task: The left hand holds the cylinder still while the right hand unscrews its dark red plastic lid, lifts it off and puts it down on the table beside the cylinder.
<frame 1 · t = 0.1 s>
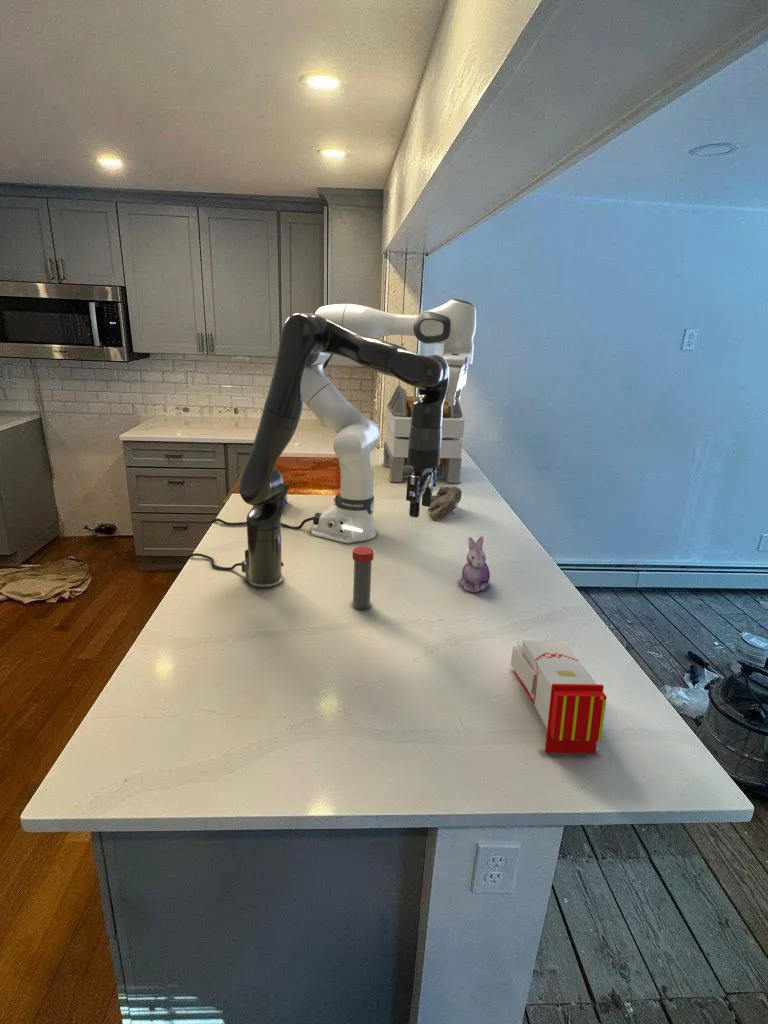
left hand: (420, 511, 136), 29 cm above the counter, tool pointing down, fingers open, 8 cm apart
right hand: (454, 403, 174), 48 cm above the counter, tool pointing down, fingers open, 8 cm apart
figurine: (474, 586, 164), on the counter
figurine character: (279, 508, 220), on the counter
toy: (547, 704, 116), on the counter
lid: (363, 551, 146), point 16 cm above the counter, screwed on, not yet turned
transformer: (419, 473, 275), on the counter
cylinder: (361, 605, 151), on the counter
fossil: (443, 512, 223), on the counter
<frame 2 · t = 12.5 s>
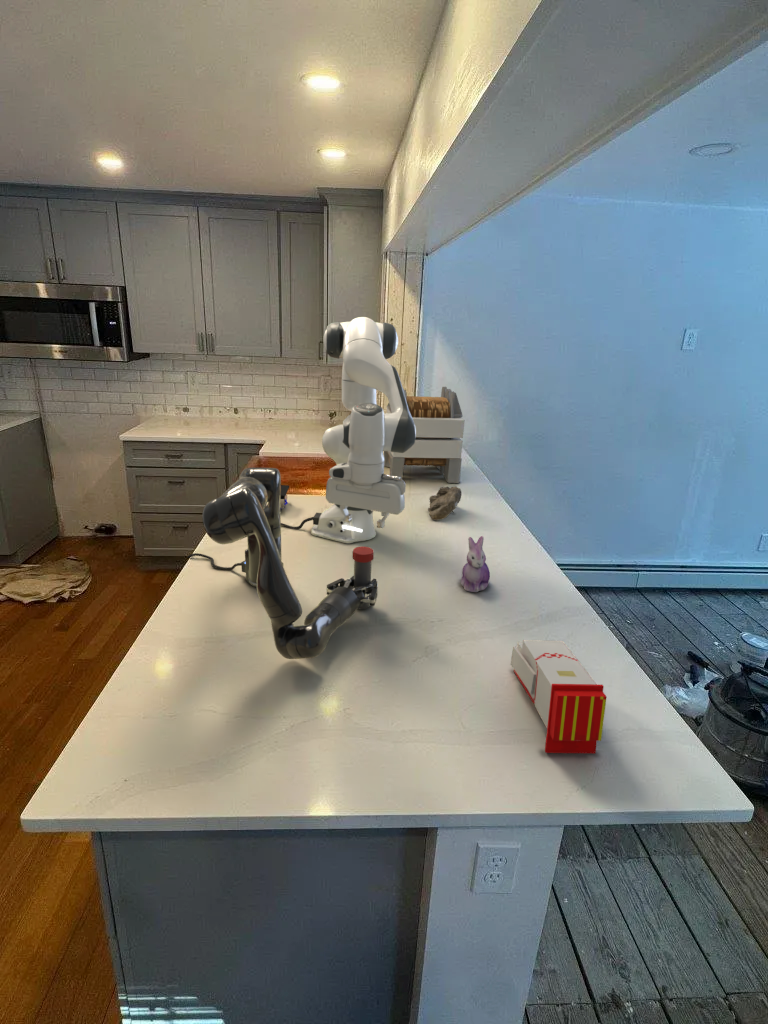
left hand: (366, 579, 151), 6 cm above the counter, tool horizontal, fingers closed on cylinder, 4 cm apart
right hand: (364, 524, 143), 23 cm above the counter, tool pointing down, fingers open, 8 cm apart
cylinder: (361, 605, 151), on the counter, touching left hand
everything else where it was.
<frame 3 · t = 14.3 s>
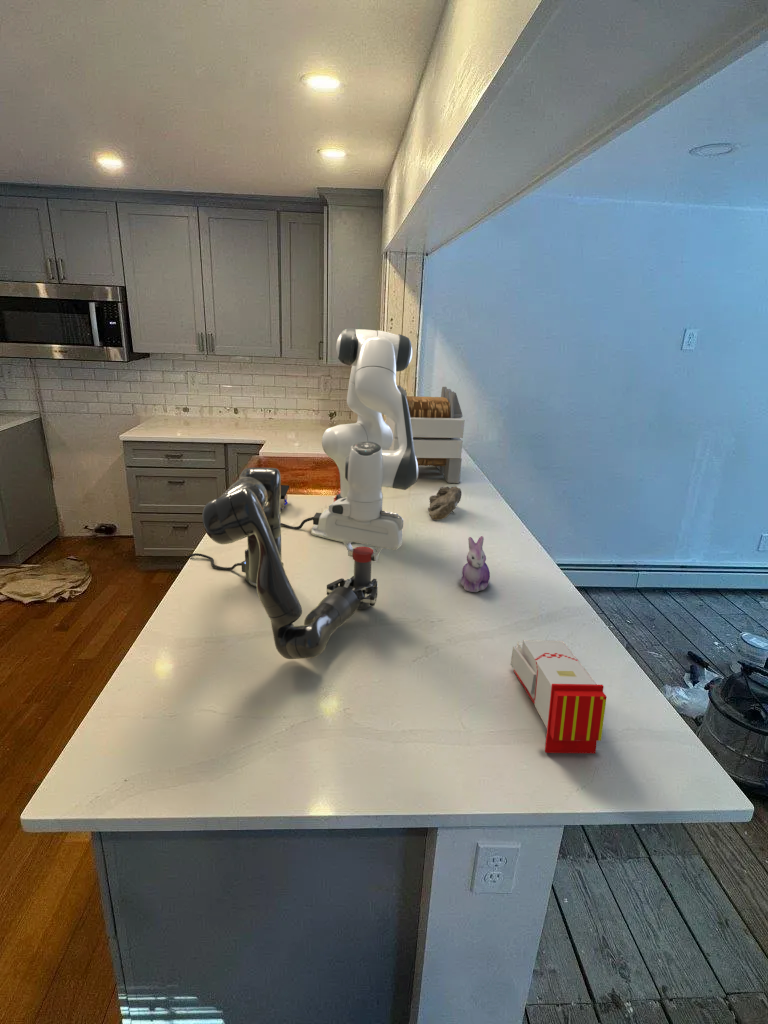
left hand: (366, 579, 151), 6 cm above the counter, tool horizontal, fingers closed on cylinder, 4 cm apart
right hand: (362, 558, 146), 14 cm above the counter, tool pointing down, fingers closed on lid, 5 cm apart
lid: (363, 551, 146), point 16 cm above the counter, screwed on, not yet turned, touching right hand
cylinder: (361, 605, 151), on the counter, touching left hand
everything else where it was.
when the right hand's fingers open (14 cm above the counter, at t = 15.6 s): lid stays where it is, point 16 cm above the counter.
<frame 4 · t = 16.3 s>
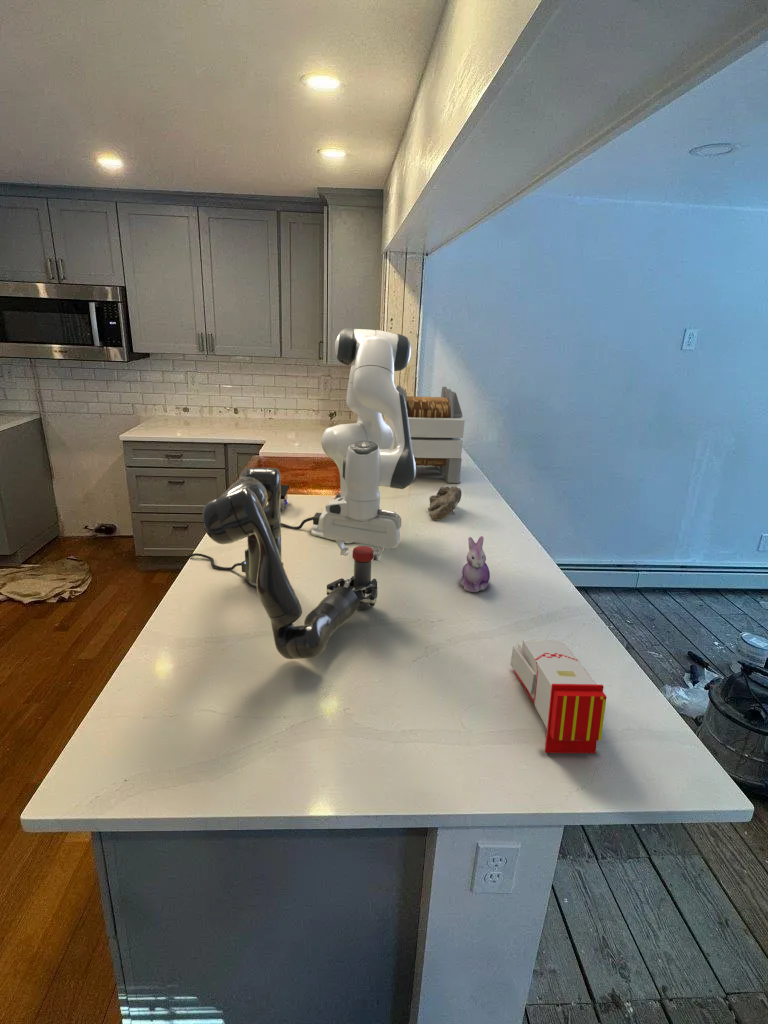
left hand: (366, 579, 151), 6 cm above the counter, tool horizontal, fingers closed on cylinder, 4 cm apart
right hand: (360, 557, 146), 14 cm above the counter, tool pointing down, fingers open, 8 cm apart
lid: (363, 551, 146), point 16 cm above the counter, turned 70° so far, risen 0.2 cm, still on its thread
cylinder: (361, 605, 151), on the counter, touching left hand
everything else where it was.
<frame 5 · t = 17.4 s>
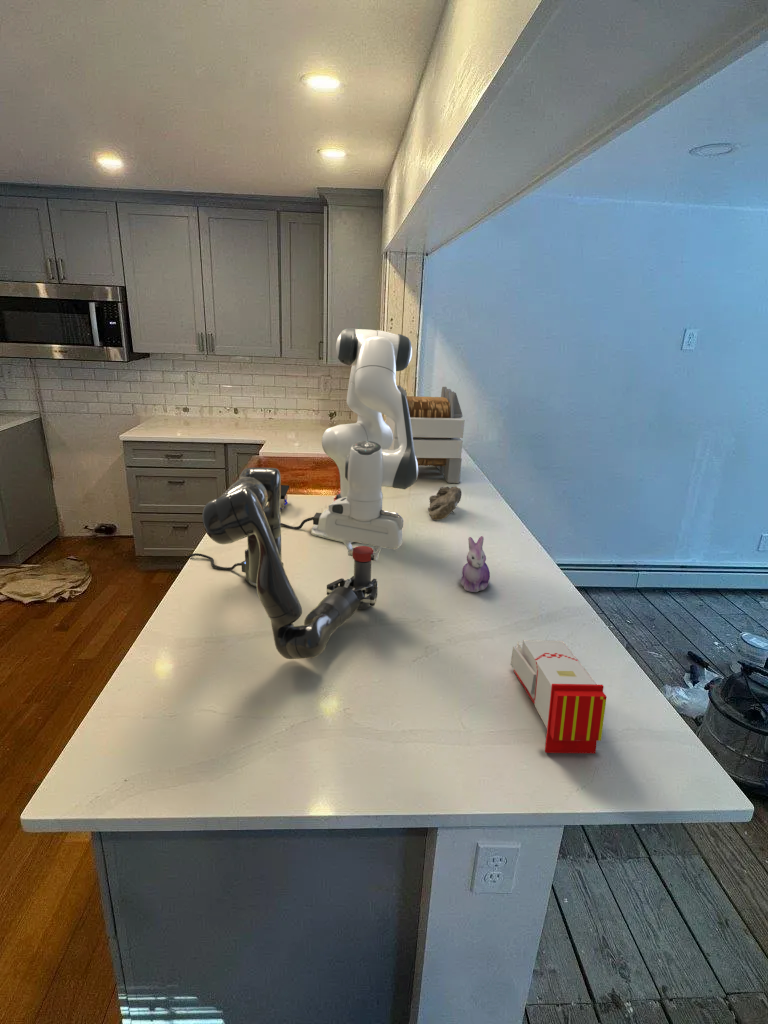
left hand: (366, 579, 151), 6 cm above the counter, tool horizontal, fingers closed on cylinder, 4 cm apart
right hand: (362, 557, 146), 14 cm above the counter, tool pointing down, fingers closed on lid, 5 cm apart
lid: (363, 551, 146), point 16 cm above the counter, turned 70° so far, risen 0.2 cm, still on its thread, touching right hand
cylinder: (361, 605, 151), on the counter, touching left hand
everything else where it was.
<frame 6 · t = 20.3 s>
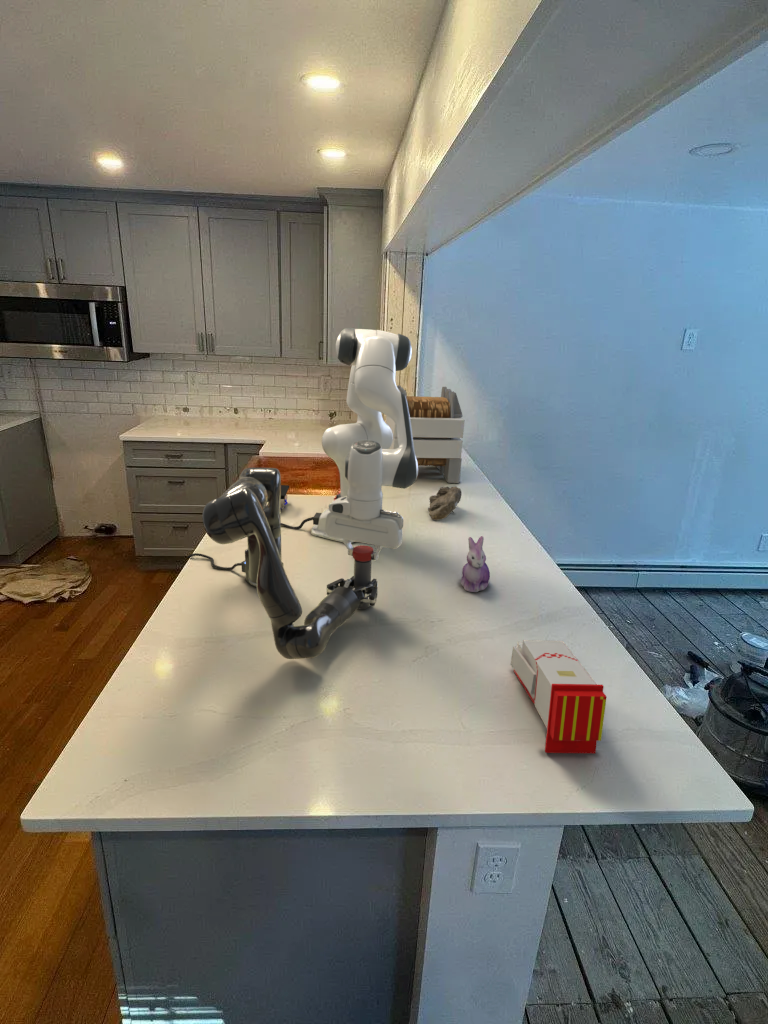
left hand: (366, 579, 151), 6 cm above the counter, tool horizontal, fingers closed on cylinder, 4 cm apart
right hand: (362, 557, 146), 14 cm above the counter, tool pointing down, fingers closed on lid, 5 cm apart
lid: (363, 550, 146), point 16 cm above the counter, turned 140° so far, risen 0.3 cm, still on its thread, touching right hand
cylinder: (361, 605, 151), on the counter, touching left hand
everything else where it was.
when the right hand's fingers open (2 cm above the counter, at t = 26.8 s): lid drops 2 cm, point 2 cm above the counter.
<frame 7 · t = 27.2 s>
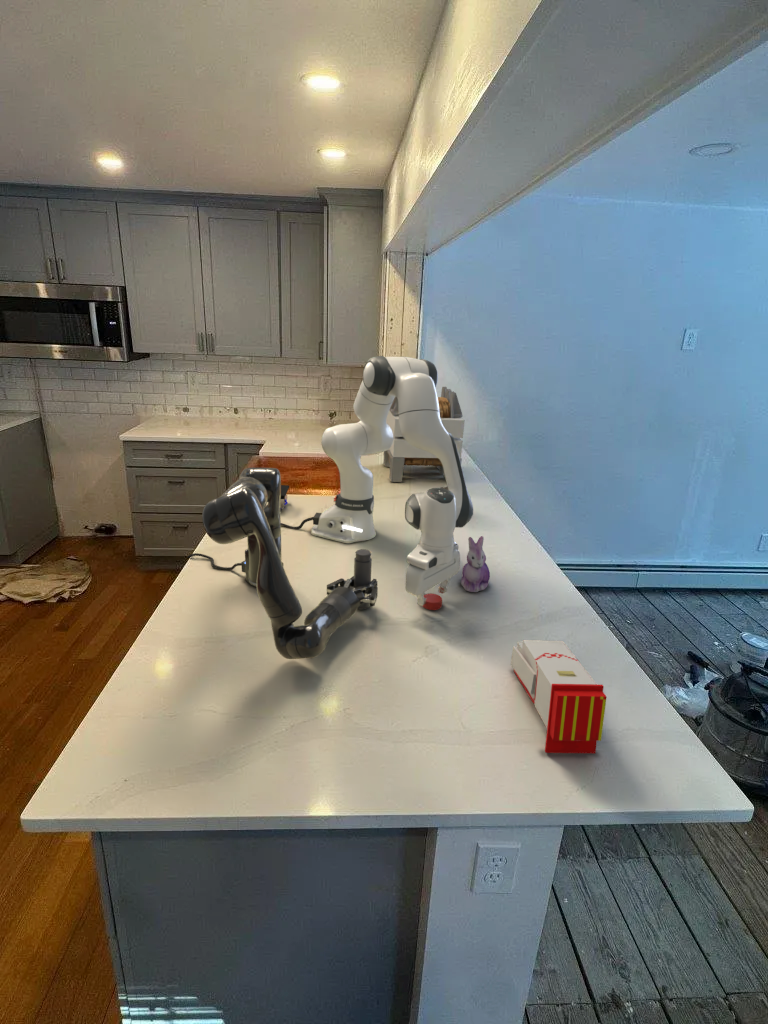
left hand: (366, 580, 151), 6 cm above the counter, tool horizontal, fingers closed on cylinder, 4 cm apart
right hand: (432, 598, 152), 2 cm above the counter, tool pointing down, fingers open, 8 cm apart
lid: (432, 599, 152), point 2 cm above the counter, off its thread
cylinder: (361, 605, 151), on the counter, touching left hand
everything else where it was.
when the left hand's fingers open (6 cm above the counter, at t = 27.8 s): cylinder stays where it is, on the counter.
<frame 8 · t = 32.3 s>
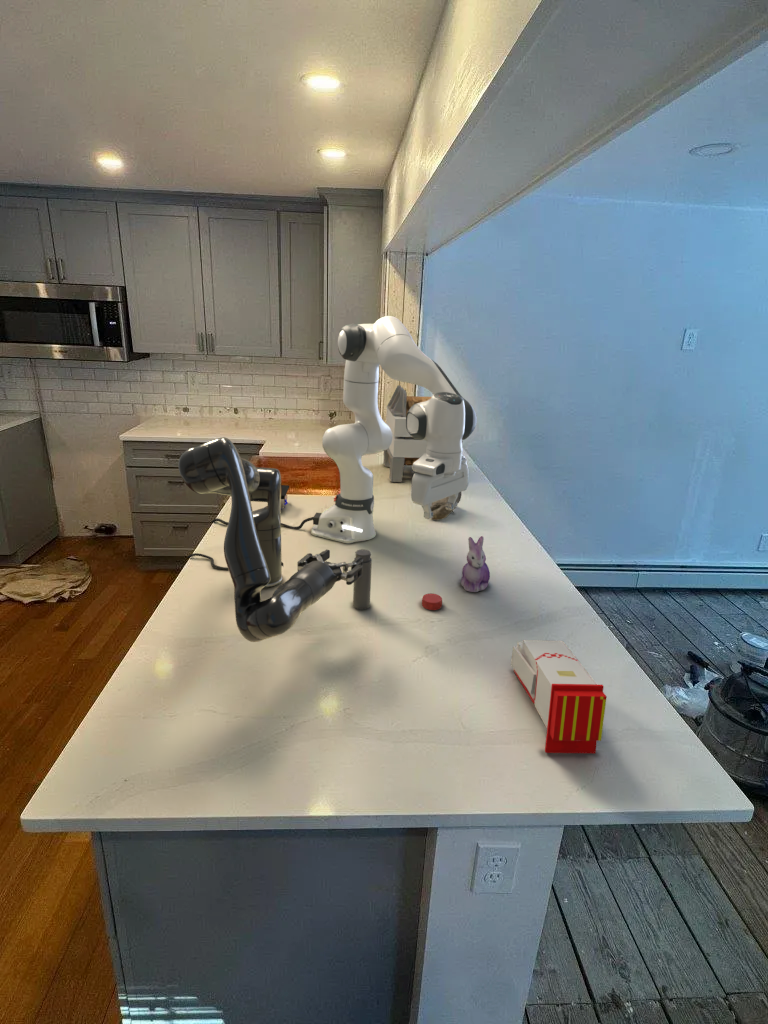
left hand: (344, 556, 135), 18 cm above the counter, tool horizontal, fingers open, 8 cm apart
right hand: (439, 513, 144), 26 cm above the counter, tool pointing down, fingers open, 8 cm apart
cylinder: (361, 605, 151), on the counter
everything else where it was.
at the end: lid came off its thread; lid point 1.9 cm above the counter; the left hand is holding nothing; the right hand is holding nothing; cylinder tilted 0°; cylinder moved 0.1 cm from its start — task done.
